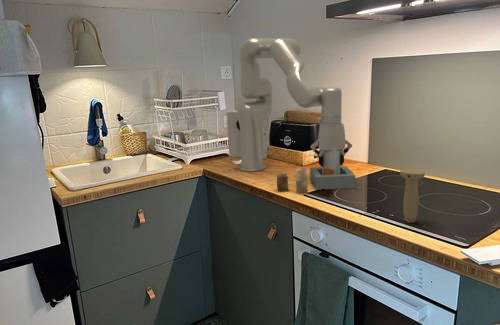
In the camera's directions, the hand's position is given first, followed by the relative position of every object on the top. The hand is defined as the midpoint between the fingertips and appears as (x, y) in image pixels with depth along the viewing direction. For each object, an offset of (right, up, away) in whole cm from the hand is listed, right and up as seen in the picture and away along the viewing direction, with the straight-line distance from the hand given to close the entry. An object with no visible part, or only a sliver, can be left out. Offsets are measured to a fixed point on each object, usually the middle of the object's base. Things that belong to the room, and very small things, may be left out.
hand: (331, 164), depth 150 cm
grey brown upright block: (-13, -10, -7) cm, 18 cm away
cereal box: (-33, +4, +58) cm, 67 cm away
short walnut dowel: (-20, -10, -4) cm, 22 cm away
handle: (+15, -16, -39) cm, 45 cm away
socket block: (0, -7, +2) cm, 8 cm away
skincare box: (0, -5, +1) cm, 5 cm away
